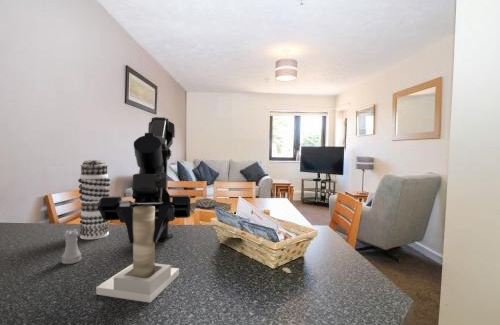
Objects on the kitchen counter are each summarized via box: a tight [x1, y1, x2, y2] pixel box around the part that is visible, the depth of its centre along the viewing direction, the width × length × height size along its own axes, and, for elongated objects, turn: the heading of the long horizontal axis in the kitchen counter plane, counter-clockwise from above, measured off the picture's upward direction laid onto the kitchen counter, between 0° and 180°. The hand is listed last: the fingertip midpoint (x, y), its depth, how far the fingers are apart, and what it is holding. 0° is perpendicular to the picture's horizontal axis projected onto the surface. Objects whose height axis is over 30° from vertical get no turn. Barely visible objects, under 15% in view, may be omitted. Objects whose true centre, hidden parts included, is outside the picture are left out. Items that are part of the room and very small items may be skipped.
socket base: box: [95, 262, 180, 303], centre depth 59 cm, size 12×12×4 cm
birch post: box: [132, 205, 156, 278], centre depth 56 cm, size 4×4×14 cm
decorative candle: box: [77, 159, 111, 240], centre depth 90 cm, size 9×9×25 cm
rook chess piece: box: [60, 228, 83, 265], centre depth 70 cm, size 4×4×8 cm
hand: (143, 243), depth 55 cm, fingers closed on birch post, 4 cm apart
